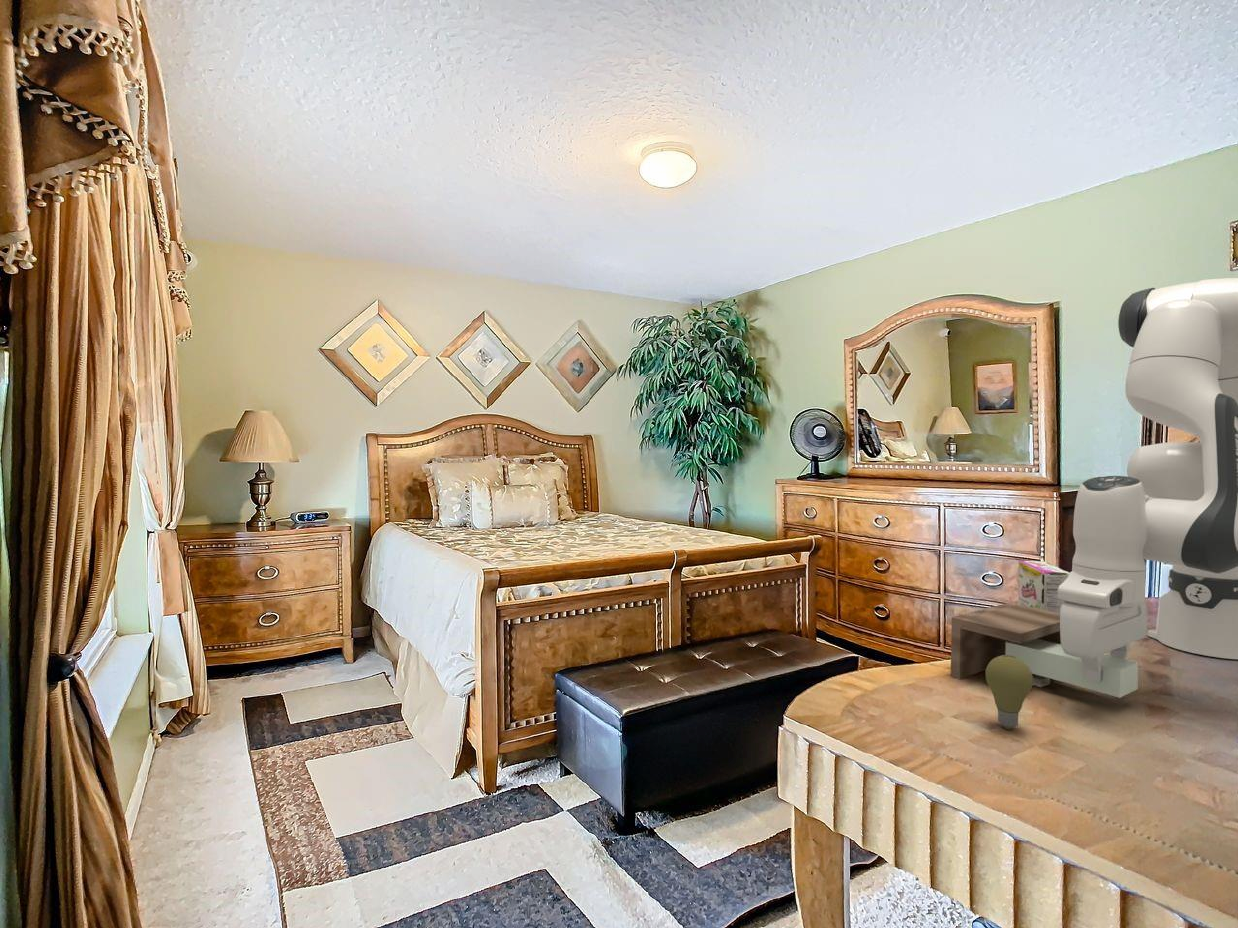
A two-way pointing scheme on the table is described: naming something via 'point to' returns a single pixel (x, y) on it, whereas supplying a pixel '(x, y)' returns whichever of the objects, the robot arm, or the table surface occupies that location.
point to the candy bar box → (1040, 585)
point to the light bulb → (1008, 687)
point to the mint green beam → (1075, 667)
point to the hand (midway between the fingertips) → (1105, 676)
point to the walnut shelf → (998, 636)
